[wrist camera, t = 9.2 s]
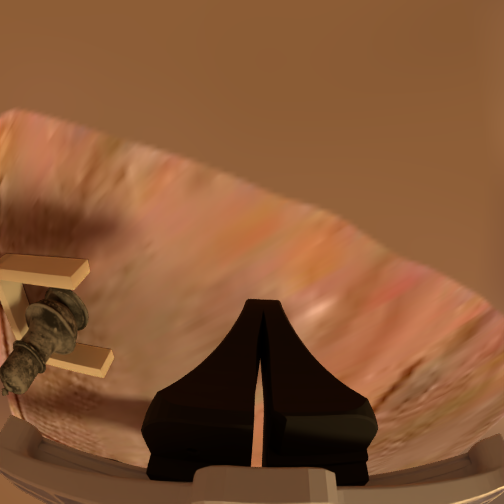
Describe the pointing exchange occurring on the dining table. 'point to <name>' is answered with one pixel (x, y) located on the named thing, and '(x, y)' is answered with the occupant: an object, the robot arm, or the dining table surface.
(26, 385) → the dark bronze turned piece
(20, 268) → the holder
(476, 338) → the dining table surface
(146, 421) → the robot arm
